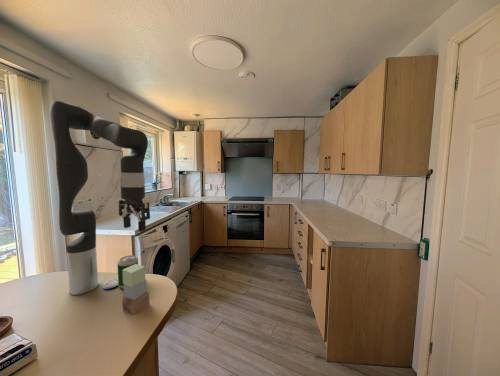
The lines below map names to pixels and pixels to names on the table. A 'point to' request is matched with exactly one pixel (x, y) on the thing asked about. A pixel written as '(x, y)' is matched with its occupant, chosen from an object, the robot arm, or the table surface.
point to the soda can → (123, 264)
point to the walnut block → (135, 303)
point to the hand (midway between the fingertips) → (134, 229)
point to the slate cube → (135, 290)
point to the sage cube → (133, 275)
